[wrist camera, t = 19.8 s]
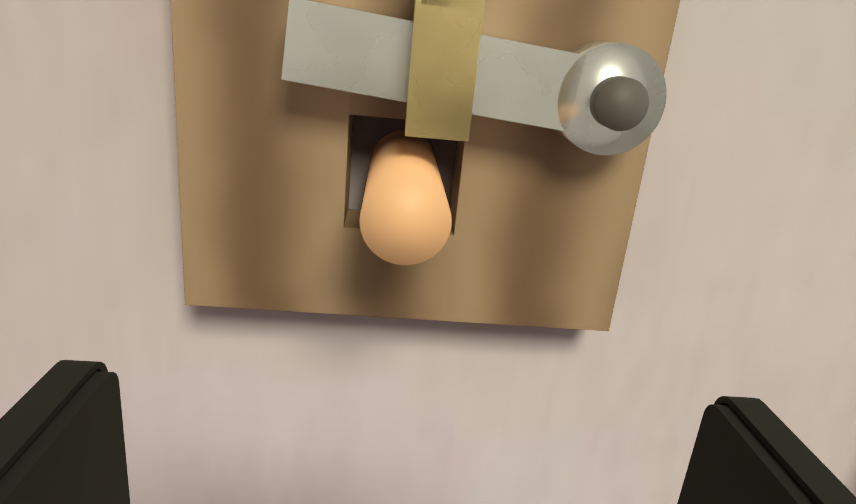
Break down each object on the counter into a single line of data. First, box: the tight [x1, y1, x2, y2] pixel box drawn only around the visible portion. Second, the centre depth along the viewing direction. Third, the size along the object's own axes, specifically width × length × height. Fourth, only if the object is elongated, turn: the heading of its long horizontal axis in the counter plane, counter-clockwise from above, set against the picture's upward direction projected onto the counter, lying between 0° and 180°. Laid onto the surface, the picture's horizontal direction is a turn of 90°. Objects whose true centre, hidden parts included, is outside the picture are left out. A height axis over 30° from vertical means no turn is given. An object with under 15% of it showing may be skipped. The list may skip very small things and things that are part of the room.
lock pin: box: [360, 130, 452, 265], centre depth 26 cm, size 3×3×10 cm
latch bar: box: [281, 0, 666, 155], centre depth 25 cm, size 15×4×2 cm, turn 80°
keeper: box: [405, 0, 485, 142], centre depth 24 cm, size 2×7×4 cm, turn 175°
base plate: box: [171, 0, 680, 331], centre depth 27 cm, size 21×17×7 cm
